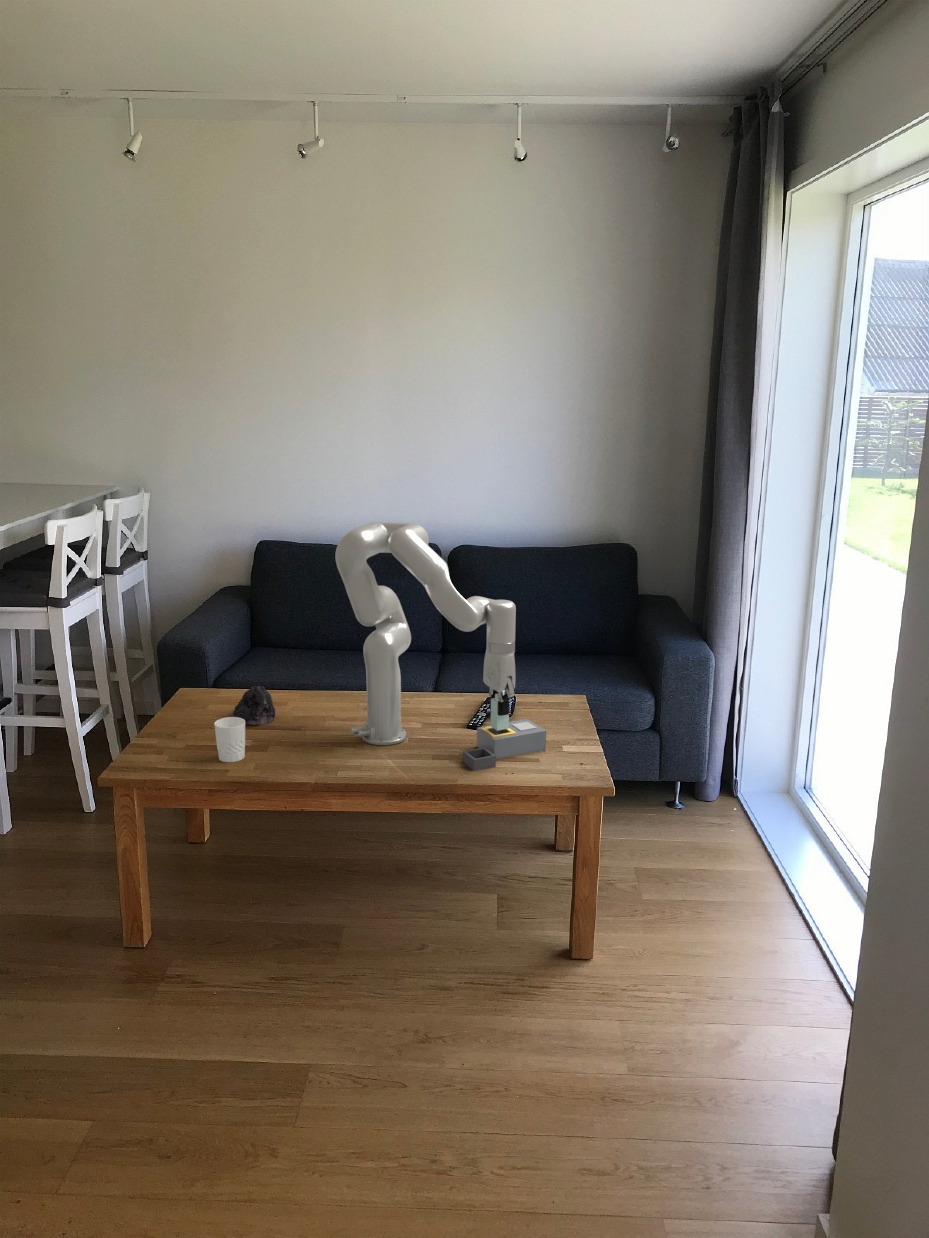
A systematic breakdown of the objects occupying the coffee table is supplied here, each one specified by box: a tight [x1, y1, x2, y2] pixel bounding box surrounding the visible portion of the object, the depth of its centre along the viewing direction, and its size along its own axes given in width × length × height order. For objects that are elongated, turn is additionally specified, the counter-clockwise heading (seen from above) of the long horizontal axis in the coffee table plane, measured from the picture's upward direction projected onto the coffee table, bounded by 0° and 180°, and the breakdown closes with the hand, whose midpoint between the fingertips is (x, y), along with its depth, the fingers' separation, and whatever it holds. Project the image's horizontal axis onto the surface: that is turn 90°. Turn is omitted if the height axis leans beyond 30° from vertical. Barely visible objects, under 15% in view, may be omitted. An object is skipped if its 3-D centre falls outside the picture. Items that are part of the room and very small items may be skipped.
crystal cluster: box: [232, 685, 276, 725], centre depth 273 cm, size 13×14×10 cm
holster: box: [462, 747, 497, 772], centre depth 242 cm, size 6×6×4 cm
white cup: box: [213, 716, 246, 763], centre depth 244 cm, size 8×8×10 cm
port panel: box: [476, 718, 547, 760], centre depth 253 cm, size 16×10×6 cm, turn 117°
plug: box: [490, 692, 510, 731], centre depth 249 cm, size 4×4×10 cm
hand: (499, 711), depth 249 cm, fingers closed on plug, 3 cm apart
